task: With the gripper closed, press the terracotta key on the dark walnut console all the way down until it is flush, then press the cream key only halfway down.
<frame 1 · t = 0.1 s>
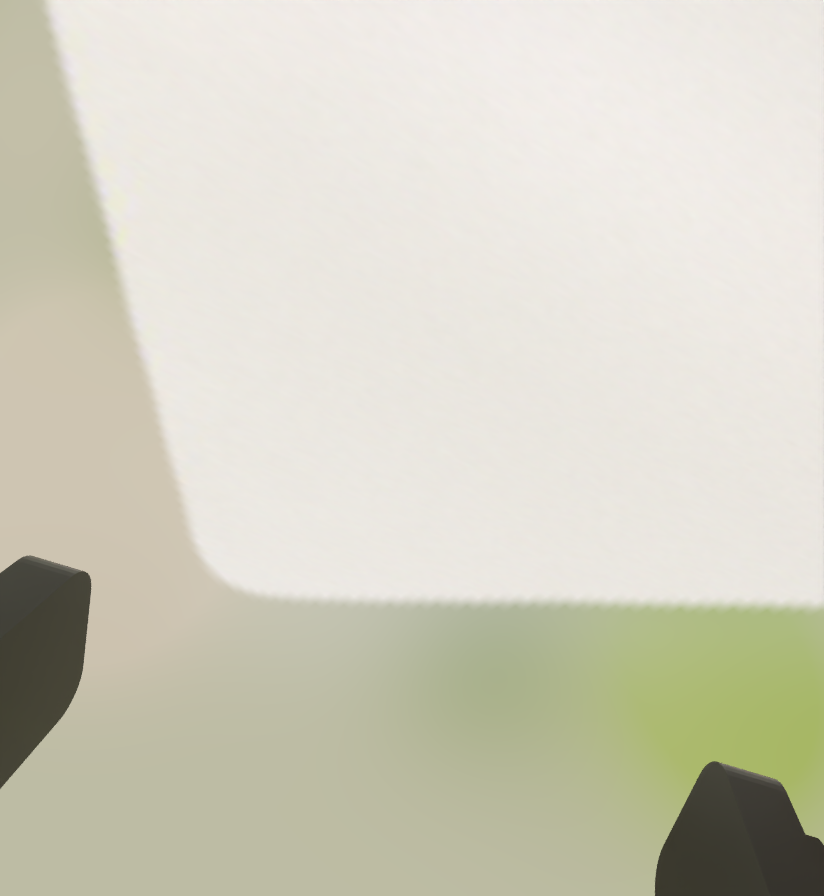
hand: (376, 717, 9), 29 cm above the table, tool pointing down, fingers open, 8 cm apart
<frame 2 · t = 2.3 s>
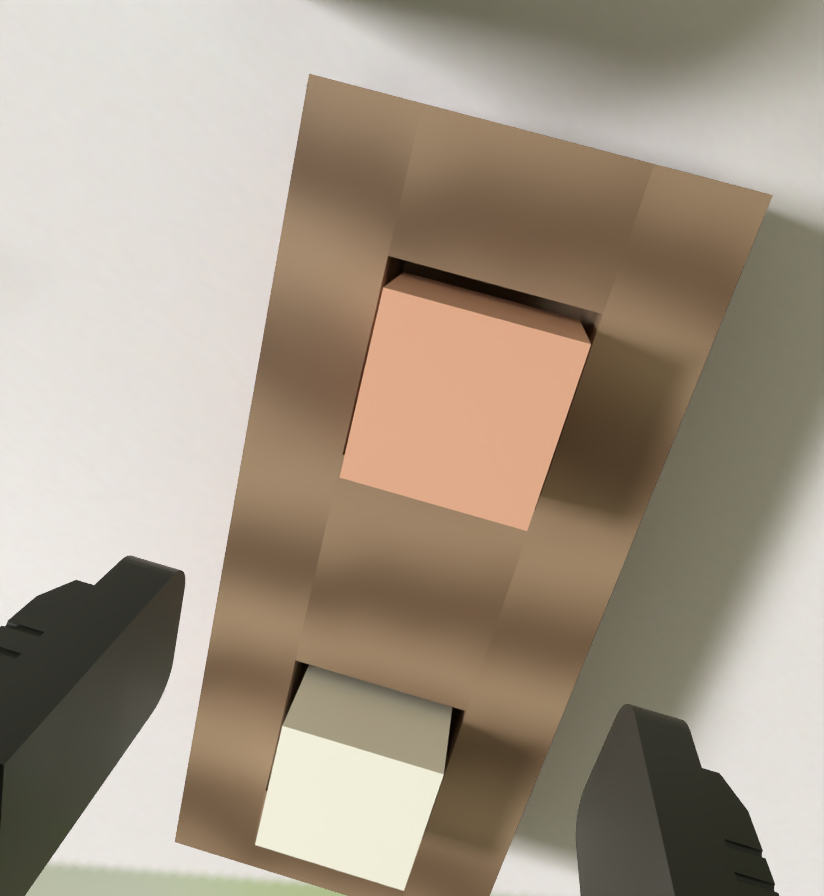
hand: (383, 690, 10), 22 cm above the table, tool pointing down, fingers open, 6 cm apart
terracotta key: (463, 396, 23), point 7 cm above the table, slide at 0.0 cm
walnut console: (426, 520, 33), on the table
cream key: (356, 771, 29), point 7 cm above the table, slide at 0.0 cm
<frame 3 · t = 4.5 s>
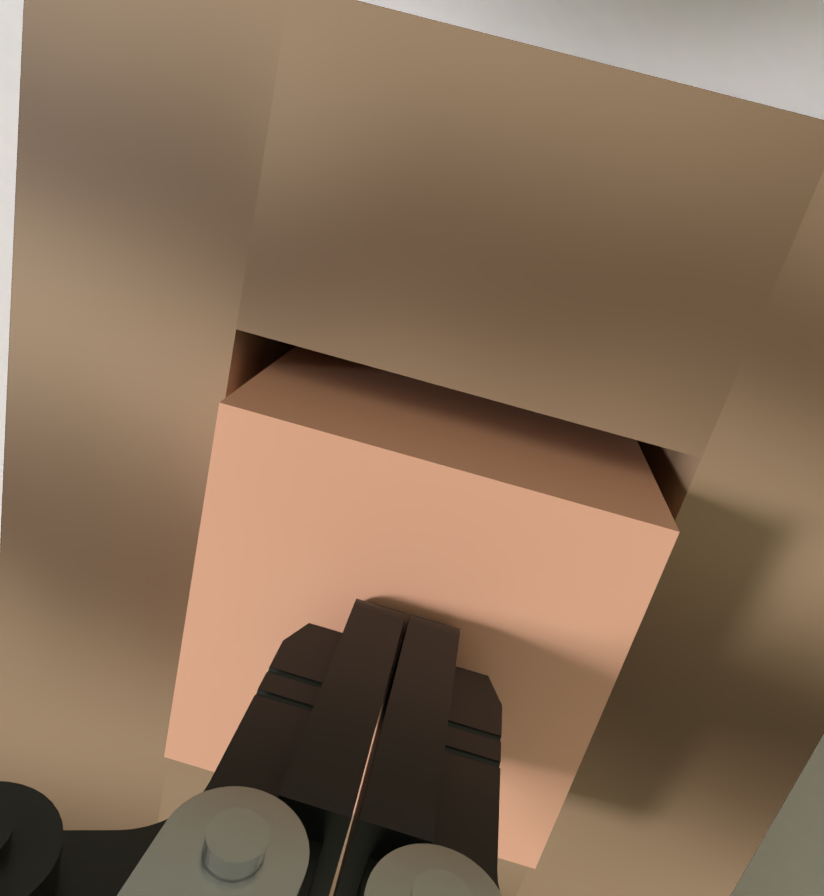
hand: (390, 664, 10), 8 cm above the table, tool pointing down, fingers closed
terracotta key: (411, 584, 12), point 6 cm above the table, slide at 1.3 cm, touching gripper
walnut console: (370, 720, 20), on the table
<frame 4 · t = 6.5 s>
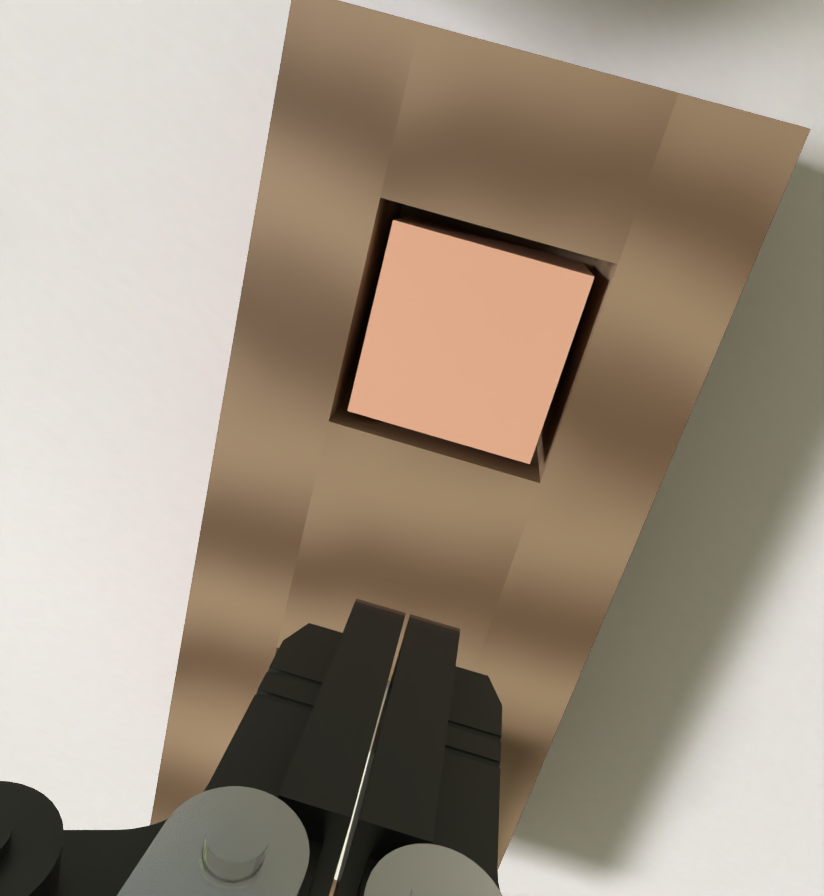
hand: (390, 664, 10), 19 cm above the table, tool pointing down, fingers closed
terracotta key: (468, 334, 24), point 4 cm above the table, slide at 3.1 cm
walnut console: (420, 500, 31), on the table
cream key: (341, 767, 27), point 7 cm above the table, slide at 0.0 cm
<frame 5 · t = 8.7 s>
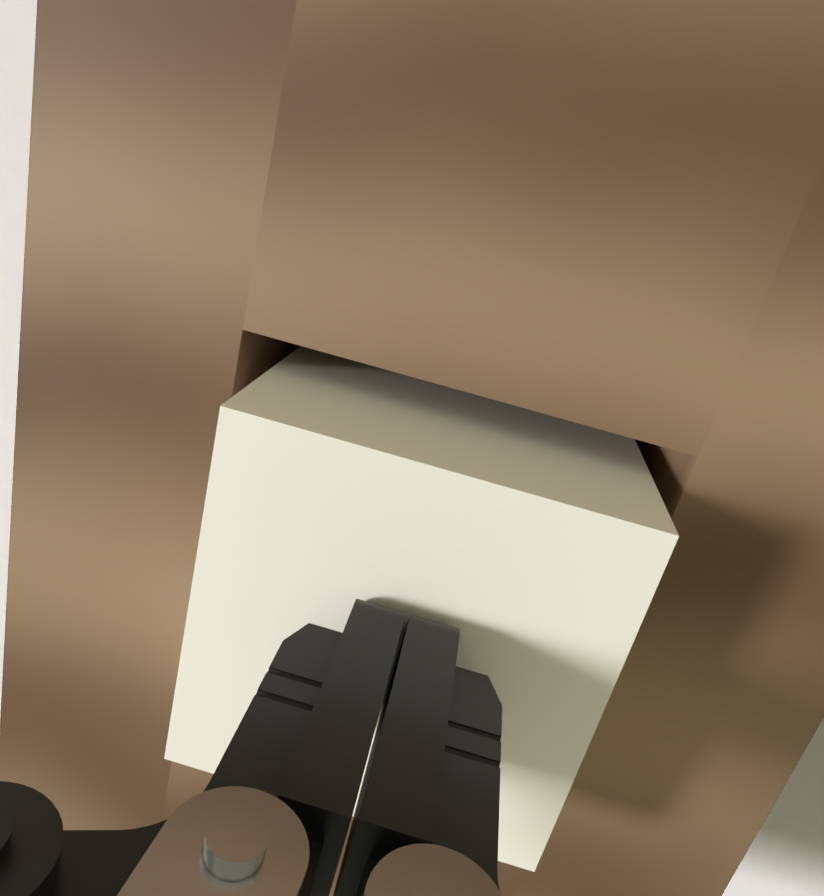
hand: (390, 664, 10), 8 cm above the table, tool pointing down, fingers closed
walnut console: (545, 108, 15), on the table
cream key: (411, 587, 12), point 6 cm above the table, slide at 1.1 cm, touching gripper
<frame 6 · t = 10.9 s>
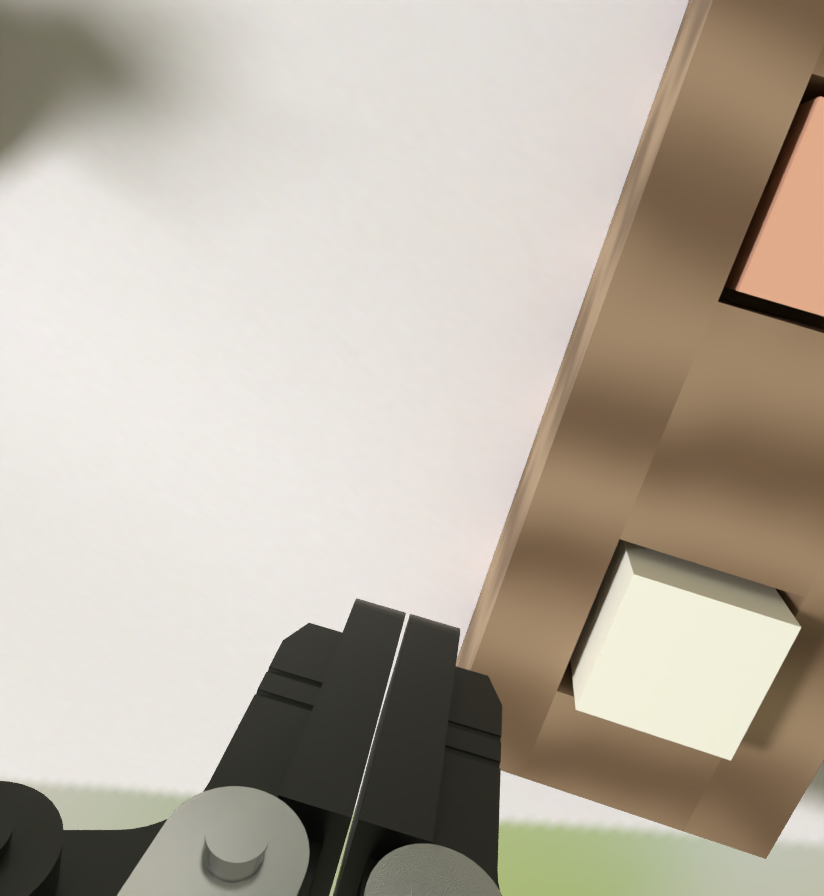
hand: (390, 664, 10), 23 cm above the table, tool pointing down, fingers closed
walnut console: (719, 413, 31), on the table
cream key: (673, 640, 28), point 6 cm above the table, slide at 1.4 cm
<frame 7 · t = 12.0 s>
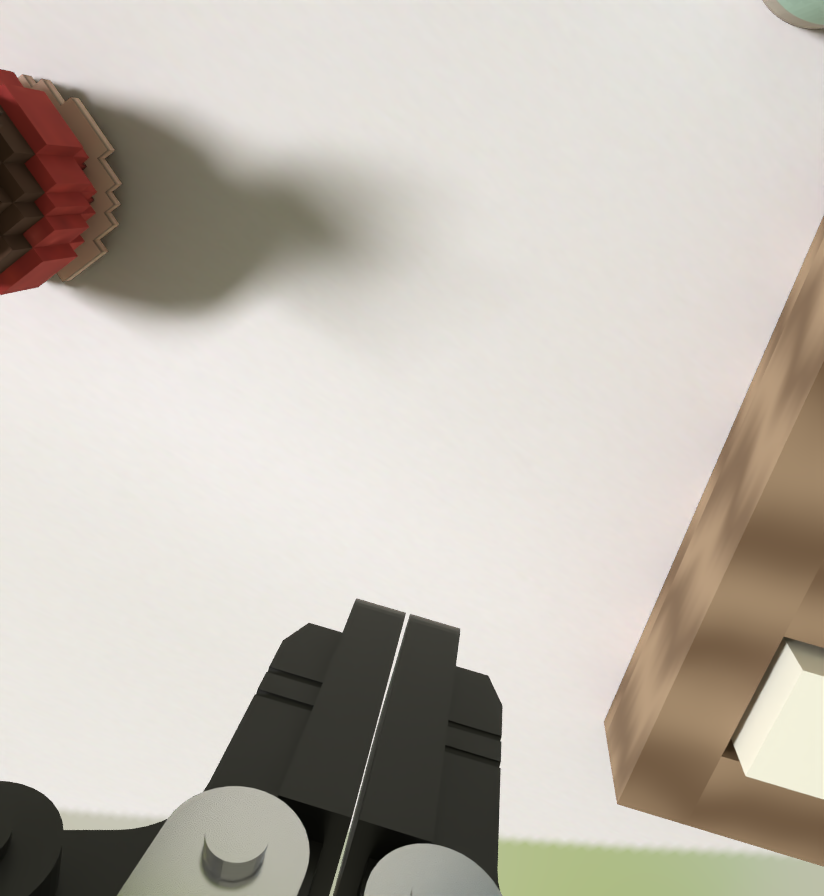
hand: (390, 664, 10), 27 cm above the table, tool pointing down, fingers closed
cake: (39, 182, 36), on the table
cream key: (823, 714, 34), point 6 cm above the table, slide at 1.4 cm
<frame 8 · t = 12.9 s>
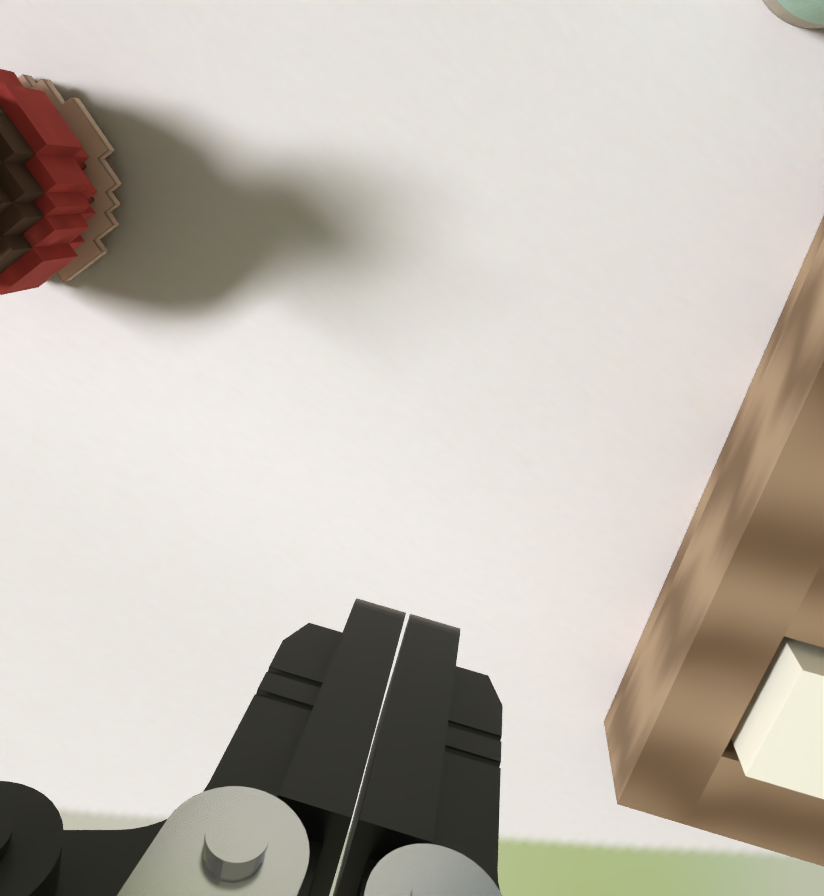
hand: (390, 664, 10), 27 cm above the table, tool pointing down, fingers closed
cake: (39, 182, 36), on the table
cream key: (823, 714, 34), point 6 cm above the table, slide at 1.4 cm
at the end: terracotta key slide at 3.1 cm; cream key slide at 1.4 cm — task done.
